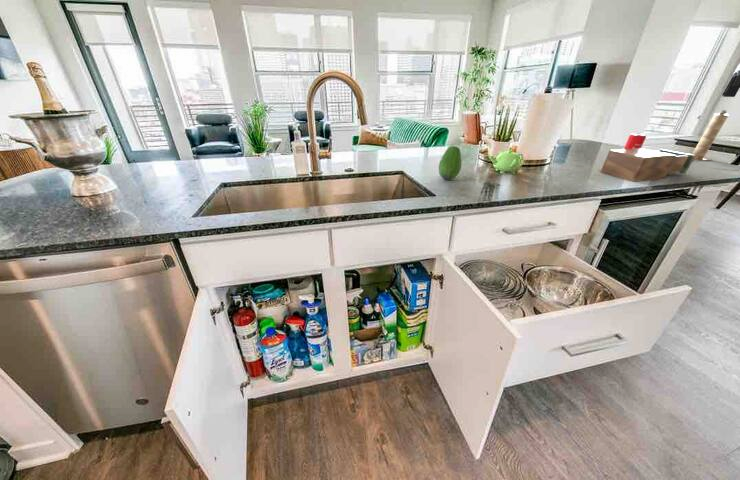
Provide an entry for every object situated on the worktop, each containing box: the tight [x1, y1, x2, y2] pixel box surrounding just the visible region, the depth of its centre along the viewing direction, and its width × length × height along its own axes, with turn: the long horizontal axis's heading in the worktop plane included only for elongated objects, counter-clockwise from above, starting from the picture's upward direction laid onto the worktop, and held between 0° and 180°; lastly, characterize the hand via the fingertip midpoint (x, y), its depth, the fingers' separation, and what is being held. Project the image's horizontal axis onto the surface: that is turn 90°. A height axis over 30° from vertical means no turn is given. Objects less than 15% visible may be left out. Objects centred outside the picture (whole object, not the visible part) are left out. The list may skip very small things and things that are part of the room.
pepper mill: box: [691, 109, 730, 159], centre depth 118 cm, size 4×4×20 cm
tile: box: [694, 157, 713, 162], centre depth 123 cm, size 7×7×1 cm
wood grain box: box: [600, 147, 677, 182], centre depth 101 cm, size 14×12×8 cm
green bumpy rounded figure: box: [488, 149, 524, 175], centre depth 107 cm, size 11×12×8 cm
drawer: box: [653, 148, 696, 175], centre depth 104 cm, size 18×11×7 cm, turn 103°
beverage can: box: [623, 132, 647, 149], centre depth 115 cm, size 5×5×12 cm
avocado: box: [438, 145, 463, 181], centre depth 98 cm, size 8×8×12 cm
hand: (727, 96), depth 102 cm, fingers open, 13 cm apart
